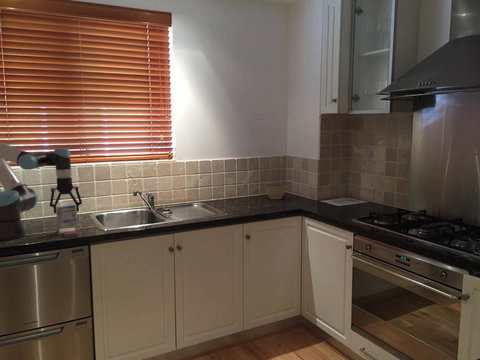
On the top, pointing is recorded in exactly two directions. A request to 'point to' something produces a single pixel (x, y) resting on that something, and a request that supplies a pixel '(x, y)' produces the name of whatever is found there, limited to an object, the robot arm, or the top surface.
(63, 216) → the medicine box
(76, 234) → the ink pad
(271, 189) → the planter bowl
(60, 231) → the paper card
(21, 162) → the robot arm
